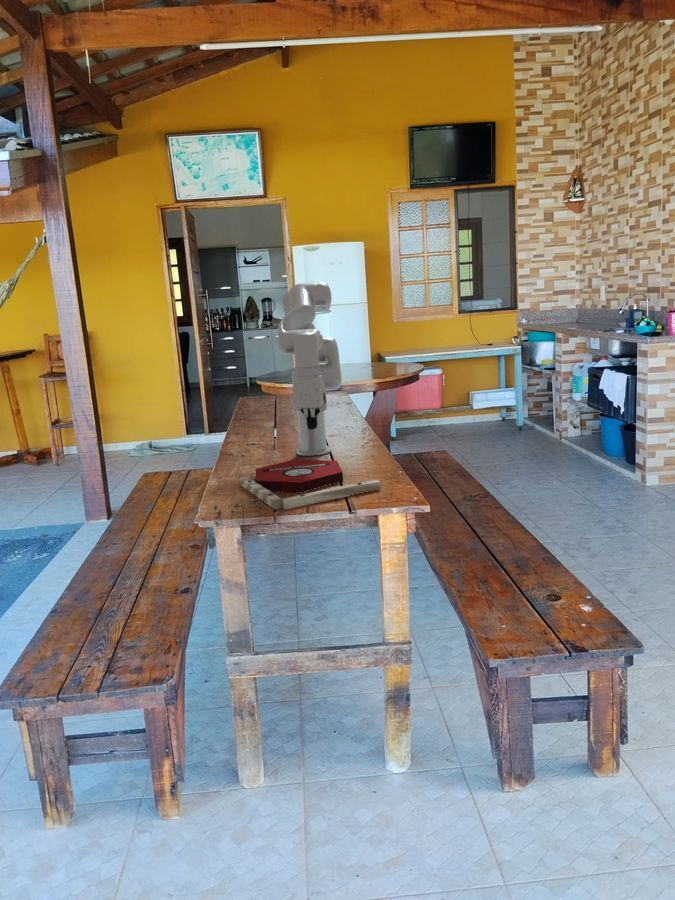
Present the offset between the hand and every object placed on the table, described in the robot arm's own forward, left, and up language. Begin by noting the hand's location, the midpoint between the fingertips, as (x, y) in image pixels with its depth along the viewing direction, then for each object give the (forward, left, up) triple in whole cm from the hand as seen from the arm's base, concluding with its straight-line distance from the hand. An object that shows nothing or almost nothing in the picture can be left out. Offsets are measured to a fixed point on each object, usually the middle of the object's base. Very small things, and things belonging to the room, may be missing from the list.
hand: (312, 428), depth 235 cm
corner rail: (+13, -12, -14) cm, 23 cm away
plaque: (+3, -9, -15) cm, 18 cm away
